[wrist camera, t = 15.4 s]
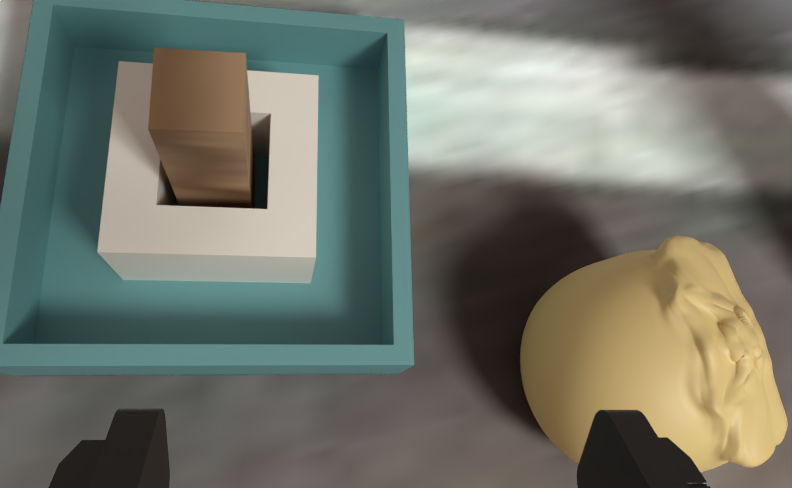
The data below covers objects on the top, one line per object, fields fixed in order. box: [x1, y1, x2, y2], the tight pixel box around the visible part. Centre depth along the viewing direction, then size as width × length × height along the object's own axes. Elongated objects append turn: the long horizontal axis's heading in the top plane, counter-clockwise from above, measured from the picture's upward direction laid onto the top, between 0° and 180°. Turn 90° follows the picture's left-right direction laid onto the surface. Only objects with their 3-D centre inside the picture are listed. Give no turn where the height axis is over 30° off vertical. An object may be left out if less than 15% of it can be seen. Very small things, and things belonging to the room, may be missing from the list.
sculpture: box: [520, 236, 787, 472], centre depth 34 cm, size 11×12×11 cm
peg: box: [148, 48, 255, 209], centre depth 32 cm, size 4×4×12 cm
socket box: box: [0, 0, 414, 376], centre depth 35 cm, size 20×20×6 cm
